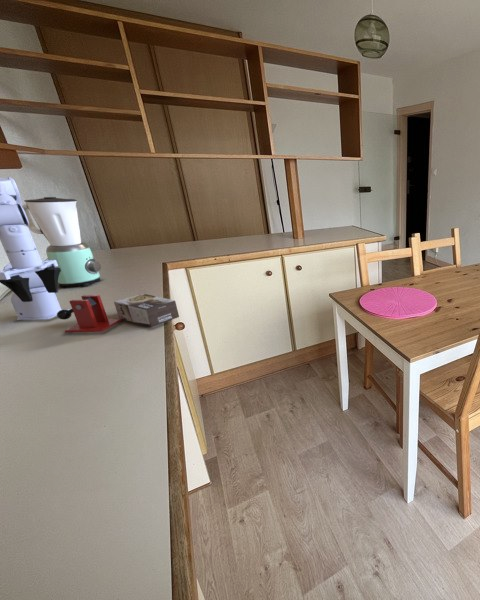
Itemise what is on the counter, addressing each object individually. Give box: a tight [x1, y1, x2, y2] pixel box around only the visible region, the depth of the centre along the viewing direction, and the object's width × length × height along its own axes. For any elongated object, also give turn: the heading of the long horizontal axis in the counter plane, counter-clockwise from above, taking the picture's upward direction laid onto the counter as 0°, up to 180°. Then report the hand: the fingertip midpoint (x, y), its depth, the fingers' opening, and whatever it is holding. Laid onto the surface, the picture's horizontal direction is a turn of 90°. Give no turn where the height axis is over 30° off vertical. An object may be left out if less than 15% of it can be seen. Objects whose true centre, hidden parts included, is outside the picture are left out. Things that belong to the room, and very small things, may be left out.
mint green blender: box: [22, 196, 102, 289], centre depth 126 cm, size 19×13×35 cm
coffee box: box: [113, 293, 180, 328], centre depth 101 cm, size 9×6×16 cm
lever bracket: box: [64, 294, 123, 334], centre depth 94 cm, size 10×8×10 cm
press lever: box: [56, 297, 97, 320], centre depth 93 cm, size 11×3×3 cm, turn 96°
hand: (40, 296), depth 90 cm, fingers open, 7 cm apart
